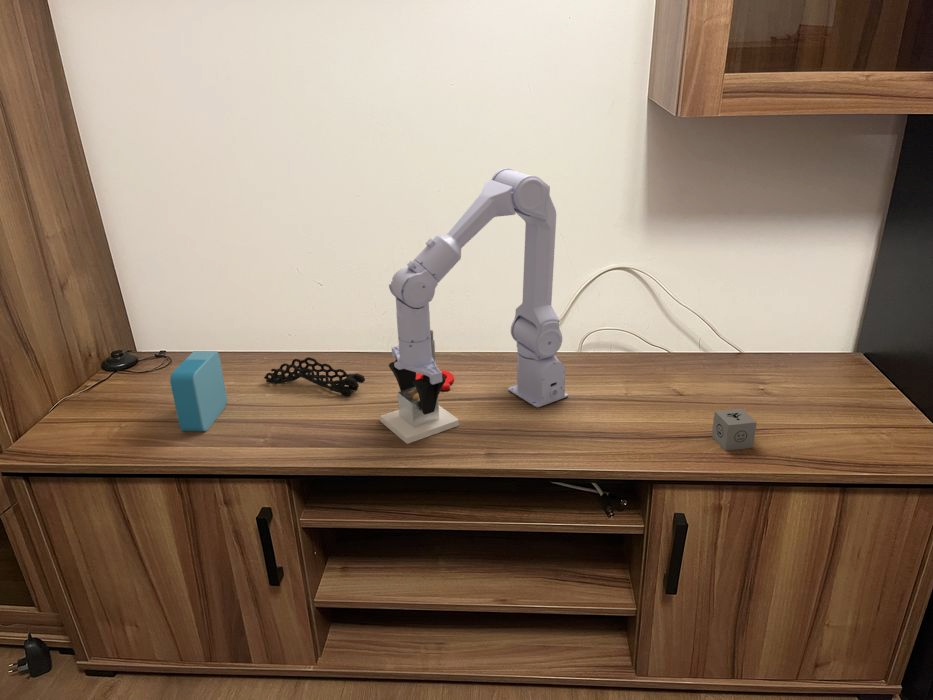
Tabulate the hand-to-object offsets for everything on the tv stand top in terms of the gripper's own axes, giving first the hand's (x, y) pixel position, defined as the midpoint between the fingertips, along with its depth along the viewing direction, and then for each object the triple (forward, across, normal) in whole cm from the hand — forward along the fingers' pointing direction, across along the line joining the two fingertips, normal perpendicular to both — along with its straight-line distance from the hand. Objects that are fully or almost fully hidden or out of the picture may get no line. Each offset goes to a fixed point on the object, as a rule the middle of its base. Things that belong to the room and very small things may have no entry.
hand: (418, 404), depth 131 cm
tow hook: (+4, -13, +11) cm, 18 cm away
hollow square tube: (+3, 0, 0) cm, 3 cm away
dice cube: (+4, +38, +41) cm, 56 cm away
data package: (+4, -26, -32) cm, 41 cm away
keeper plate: (+4, 0, 0) cm, 4 cm away
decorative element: (+4, -26, -10) cm, 28 cm away
